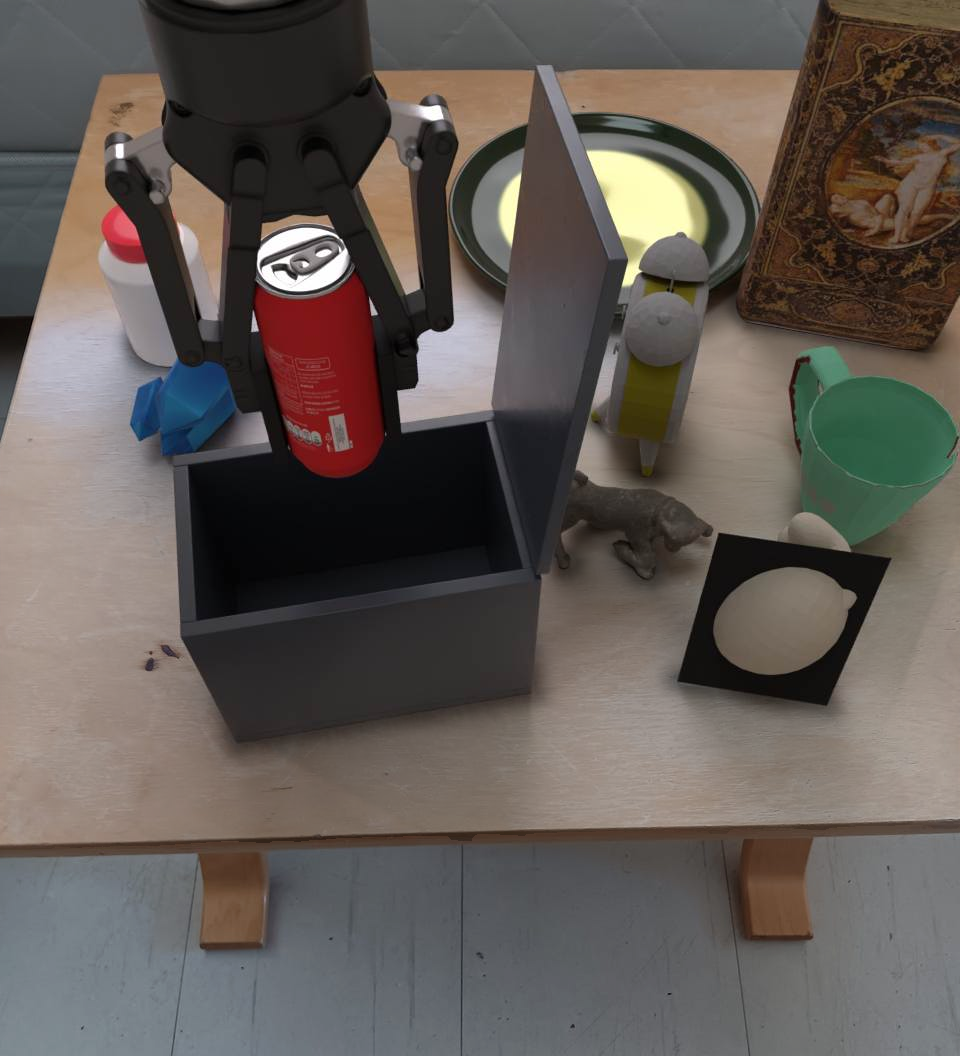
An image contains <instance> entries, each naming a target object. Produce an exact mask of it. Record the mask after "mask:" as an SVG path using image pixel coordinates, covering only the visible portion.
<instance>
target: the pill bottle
mask: <svg viewBox="0 0 960 1056" xmlns="http://www.w3.org/2000/svg"><path fill="white" fill-rule="evenodd" d="M172 212H173V216H174V219H175V223H176V226H177V230H178V234H179V237H180V241H181V244H182V248H183V251H184V255H185V258H186V262H187V265H188V269H189V273H190V276H191V280H192V283H193V287H194V290H195V294H196V297H197V301H198V305H199V308H200V312H201V315H202V319H205V320H213V321H215V320H218V316H217V314H219V306H218V304H217V300H216V297H215V293H214V290H213V287H212V283H211V280H210V276H209V272H208V269H207V266H206V263H205V260H204V256H203V253H202V249H201V245H200V243H199V239H198V238H197V236H196V234H195V233H194V232H193V230H192V229H191V228H190V227H188V226H187V225H186V224H184V223H182V222H180V221H177V217H176V214H175V212H174V210H173V209H172ZM100 226H101V228H100V229H101V232H102V235H103V237H104V239H103V241H102V242H101V244H100V245H99V248H98V252H97V263H98V265H99V268H100V269H99V270H100V271H101V274H102V276H103V279H104V282H105V284H106V286H107V289H108V291H109V294H110V296H111V299H112V301H113V304H114V306H115V308H116V311H117V313H118V316H119V318H120V321H121V324H122V325H123V328H124V331H125V333H126V336H127V338H128V340H129V343H130V345H131V348H132V350H133V351H134V353H135V354H136V355H137V356H138V357H139V359H141V360H143V361H144V362H146V363H148V364H151V365H155V366H158V367H165V368H166V367H169V368H170V367H171V368H172V366H173V364H174V363H175V361H176V359H177V354H176V351H175V348H174V344H173V341H172V338H171V335H170V332H169V329H168V326H167V323H166V320H165V317H164V314H163V310H162V307H161V304H160V301H159V298H158V295H157V292H156V289H155V286H154V283H153V280H152V276H151V273H150V270H149V267H148V264H147V261H146V258H145V255H144V252H143V249H142V246H141V242H140V239H139V236H138V233H137V230H136V227H135V226H134V224H133V223H132V222H131V221H130V219H129V218H128V217H127V216H126V214H125V213H124V212H123V210H122V209H121V208H120V207H119V205H118V204H117V205H115V206H113V207H112V208H111V209H109V210H108V212H106V214H105V215H104V216H103V218H102V220H101V223H100Z"/></svg>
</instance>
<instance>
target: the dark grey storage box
mask: <svg viewBox="0 0 960 1056" xmlns="http://www.w3.org/2000/svg"><path fill="white" fill-rule="evenodd" d="M401 431H402V441H403V446H402V447H396V448H389V446H388V441H387V436H386V432H385V438H384V441H383V443H382V445H381V447H380V449H379V453H378V455H377V457H376V459H375V460H374V461H373V463H372V464H371V465H370V466H369V467H367V468H366V469H365V470H363V471H362V472H360V473H358V474H355V475H352V476H349V477H344V478H328V477H323V476H320V475H317V474H315V473H313V472H311V471H310V470H309V469H307V468H306V467H305V466H304V465H303V463H302V462H301V461H300V460H299V459H298V458H297V457H296V456H295V455H294V454H293V453H292V451H291V450H290V448H289V455H290V463H289V464H283V465H276V463H275V460H274V456H273V453H272V449H271V445H270V442H269V441H266V442H260V443H252V444H247V445H240V446H239V445H238V446H233V447H225V448H219V449H211V450H205V451H196V452H193V453H188V454H177V455H172V467H173V468H172V475H173V496H174V497H173V498H174V500H173V501H174V521H175V541H176V542H175V543H176V564H177V566H176V567H177V585H178V588H177V589H178V609H179V632H180V639H181V641H182V642H183V645H184V647H185V649H186V650H187V652H188V654H189V656H190V658H191V660H192V661H193V664H194V665H195V667H196V669H197V671H198V673H199V674H200V677H201V679H202V680H203V682H204V685H205V686H206V688H207V690H208V692H209V693H210V696H211V698H212V699H213V701H214V703H215V705H216V708H217V709H218V711H219V712H220V715H221V716H222V719H223V721H224V723H225V724H226V726H227V728H228V730H229V732H230V734H231V735H232V737H233V738H234V739H233V740H234V742H235V743H237V744H238V743H239V744H240V743H244V742H245V743H246V742H251V741H255V740H263V739H268V738H273V737H280V736H285V735H291V734H297V733H302V732H308V731H314V730H321V729H326V728H333V727H337V726H344V725H351V724H355V723H361V722H367V721H372V720H379V719H385V718H390V717H396V716H403V715H408V714H414V713H419V712H425V711H430V710H431V711H432V710H437V709H443V708H449V707H454V706H460V705H466V704H472V703H478V702H483V701H490V700H496V699H501V698H507V697H513V696H519V695H525V694H530V693H532V688H533V687H532V686H533V677H534V667H535V655H536V645H537V635H538V626H539V625H538V624H539V613H540V605H541V603H540V602H541V594H542V582H543V579H542V578H543V577H542V574H540V575H536V574H535V570H534V566H533V562H532V558H531V555H530V551H529V547H528V543H527V539H526V535H525V532H524V528H523V524H522V520H521V516H520V512H519V509H518V505H517V501H516V497H515V493H514V489H513V486H512V482H511V478H510V474H509V470H508V466H507V463H506V459H505V455H504V451H503V447H502V443H501V440H500V436H499V432H498V428H497V424H496V420H495V417H494V413H493V409H490V410H481V411H476V412H468V413H462V414H455V415H448V416H447V415H446V416H441V417H434V418H427V419H420V420H419V419H418V420H413V421H406V422H401ZM288 447H289V446H288Z"/></svg>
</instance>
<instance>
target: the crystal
mask: <svg viewBox="0 0 960 1056" xmlns="http://www.w3.org/2000/svg"><path fill="white" fill-rule="evenodd" d="M215 321H218V320H215ZM236 410H237V407H236V403H235V400H234V397H233V394H232V390H231V387H230V384H229V380H228V377H227V374H226V371H225V369H224V368H223V367H222V366H220V365H219V364H217V363H213V362H207V361H205V362H204V363H203V364H202V365H200V366H198V367H187V366H184V365H183V364H182V363H180V361H179V359H178V357H177V359H176V361H175V363H174V364H173V366H172V367H171V368H170V369H169V372H168V373H167V375H166V377H165V378H164V380H163V378H162V376H161V375H160V376H158V377H156V378H155V379H154V378H153V380H150V381H148V382H147V383H144V384H143V385H141V386H139V387H137V392H136V395H135V399H134V404H133V408H132V413H131V417H130V422H129V426H130V428H131V430H132V432H133V433H134V435H135V437H136V438H137V440H138V442H139V443H140V442H142V441H144V440H147V439H148V438H151V437H152V436H154V435H156V434H158V432H159V430H160V444H161V456H162V457H163V456H164V457H166V456H176V455H183V454H190V453H196V452H197V450H198V449H199V448H200V447H201V446H202V445H203V444H204V443H205V442H206V441H207V440H208V439H209V438H210V437H211V436H212V435H213V434H214V433H215V432H216V431H217V430H218V429H219V428H220V427H221V426H222V425H223V424H224V423H225V422H226V421H227V419H229V418H230V417H231V415H233V414H234V413H235V412H236Z"/></svg>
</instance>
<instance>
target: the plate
mask: <svg viewBox="0 0 960 1056" xmlns="http://www.w3.org/2000/svg"><path fill="white" fill-rule="evenodd" d="M571 114H572V116H573V119H574V122H575V124H576V127H577V129H578V132H579V134H580V137H581V139H582V142H583V145H584V147H585V150H586V152H587V155H588V157H589V160H590V162H591V165H592V168H593V170H594V173H595V175H596V178H597V180H598V183H599V185H600V188H601V191H602V193H603V196H604V198H605V201H606V203H607V206H608V208H609V211H610V214H611V216H612V219H613V221H614V224H615V226H616V229H617V231H618V234H619V237H620V239H621V242H622V244H623V247H624V249H625V252H626V254H627V257H628V264H627V268H626V272H625V276H624V280H623V284H622V288H621V292H620V296H619V300H618V304H617V308H616V311H615V315H614V318H621V317H622V311H623V307H624V305H625V306H626V309H625V310H627V307H628V302H629V298H630V290H631V286H632V284H633V282H634V279H635V277H636V275H637V274H638V273H640V272H643V271H641V270H639V264H640V261H641V259H642V257H643V255H644V253H645V252H646V251H647V249H648V248H649V247H650V246H651V245H652V244H654V243H655V242H656V241H657V240H659V239H662V238H664V237H667V236H673V235H676V233H677V232H684V233H685V234H686V236H687V237H688V238H690V239H692V240H694V241H695V242H697V243H698V244H699V245H700V246H701V248H702V249H703V250H704V252H705V254H706V257H707V260H708V263H709V277H708V280H706V281H705V283H706V284H707V285H708V286H709V294H708V296H709V295H711V294H712V293H714V292H715V291H718V290H719V289H720V288H722V287H723V286H725V285H726V284H728V283H729V282H730V281H731V280H733V279H734V278H735V277H736V276H737V275H739V273H740V272H741V271H743V270H744V268H745V265H746V261H747V257H748V254H749V250H750V247H751V243H752V240H753V236H754V232H755V229H756V225H757V222H758V218H759V214H760V211H761V207H762V206H761V203H760V200H759V197H758V194H757V192H756V190H755V188H754V186H753V184H752V181H751V180H750V178H749V177H748V175H747V174H746V173H745V171H743V169H742V168H741V167H740V166H739V165H738V164H737V163H736V162H735V160H733V158H731V157H730V156H729V155H728V154H727V153H725V152H724V151H723V150H721V149H720V148H718V147H717V146H716V145H714V144H713V143H711V142H710V141H708V140H707V139H705V138H703V137H701V136H699V135H697V134H695V133H694V132H692V131H690V130H687V129H685V128H682V127H680V126H677V125H675V124H672V123H669V122H665V121H663V120H659V119H655V118H651V117H646V116H641V115H636V114H629V113H622V112H610V111H584V112H583V111H581V112H573V113H572V112H571ZM527 127H528V122H525V123H522V124H519V125H516V126H514V127H512V128H510V129H507V130H506V131H503V132H502V133H499V134H498V135H496V136H494V137H492V138H491V139H489V140H488V141H486V142H485V143H483V144H482V145H481V146H480V147H478V148H477V149H476V150H475V151H474V152H473V153H472V154H470V156H469V157H468V158H467V160H466V161H465V162H464V163H463V164H462V166H461V168H460V169H459V171H458V173H456V176H455V178H454V180H453V182H452V185H451V188H450V191H449V196H448V201H447V214H448V221H449V224H450V227H451V230H452V233H453V235H454V238H455V240H456V241H457V244H458V246H459V247H460V250H461V251H462V253H463V254H464V256H465V258H466V259H467V260H468V261H469V262H470V263H471V265H473V267H474V268H475V269H476V270H477V271H478V272H480V274H482V275H483V276H484V277H485V278H487V279H488V280H489V281H491V282H492V283H494V284H495V285H496V286H497V287H499V288H501V289H503V290H504V291H506V287H507V280H508V272H509V264H510V257H511V249H512V241H513V234H514V226H515V218H516V211H517V203H518V196H519V188H520V180H521V173H522V165H523V157H524V150H525V142H526V134H527ZM625 316H626V315H624V318H625Z"/></svg>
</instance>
